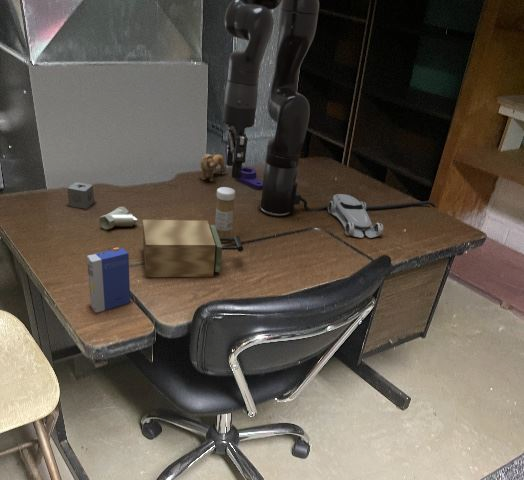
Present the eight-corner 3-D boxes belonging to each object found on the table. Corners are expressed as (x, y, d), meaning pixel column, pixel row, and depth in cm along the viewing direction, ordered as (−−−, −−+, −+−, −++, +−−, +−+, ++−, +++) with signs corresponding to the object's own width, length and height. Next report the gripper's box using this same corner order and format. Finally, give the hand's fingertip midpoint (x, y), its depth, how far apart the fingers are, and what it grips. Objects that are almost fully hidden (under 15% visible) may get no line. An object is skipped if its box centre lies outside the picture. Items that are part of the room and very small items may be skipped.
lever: (232, 177, 185) (233, 167, 183) (248, 175, 188) (249, 165, 186) (253, 190, 177) (254, 180, 175) (269, 188, 180) (270, 178, 179)
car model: (347, 238, 156) (350, 221, 153) (322, 203, 175) (324, 188, 172) (383, 239, 159) (388, 222, 156) (355, 204, 178) (358, 189, 175)
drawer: (235, 249, 142) (237, 225, 138) (244, 271, 133) (246, 247, 129) (154, 248, 137) (154, 224, 133) (158, 272, 128) (158, 246, 124)
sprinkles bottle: (224, 234, 150) (228, 185, 142) (234, 241, 147) (239, 191, 139) (210, 237, 147) (213, 187, 139) (220, 244, 145) (224, 194, 137)
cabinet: (205, 250, 141) (207, 220, 136) (213, 276, 131) (215, 244, 126) (143, 250, 137) (142, 219, 132) (146, 277, 127) (145, 244, 122)
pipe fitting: (139, 226, 149) (118, 217, 150) (140, 212, 146) (118, 204, 148) (121, 236, 143) (99, 227, 144) (121, 222, 140) (99, 213, 142)
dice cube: (94, 202, 157) (92, 185, 154) (86, 209, 153) (85, 191, 150) (77, 199, 157) (75, 181, 154) (69, 205, 153) (67, 188, 150)
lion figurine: (211, 186, 176) (213, 157, 171) (196, 182, 177) (197, 154, 172) (228, 172, 188) (230, 145, 182) (213, 169, 189) (215, 142, 183)
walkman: (123, 296, 120) (121, 245, 113) (130, 302, 118) (128, 251, 111) (89, 306, 115) (84, 254, 108) (95, 313, 114) (91, 260, 107)
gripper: (262, 112, 126) (253, 182, 135) (250, 96, 137) (243, 162, 146) (229, 109, 124) (222, 180, 133) (220, 93, 135) (214, 160, 144)
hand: (233, 171), depth 140 cm, fingers open, 8 cm apart
